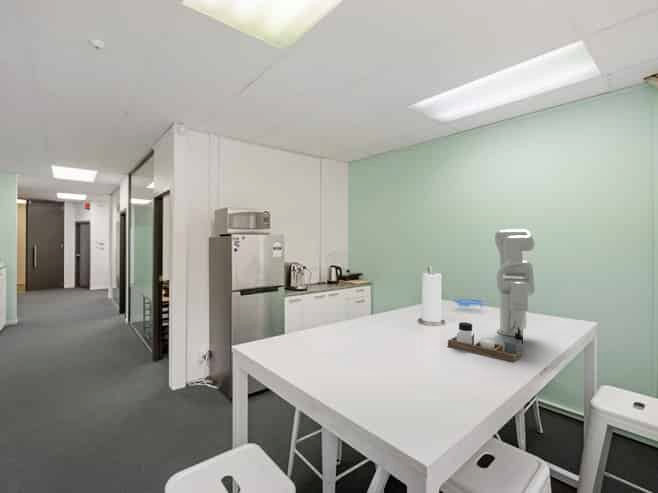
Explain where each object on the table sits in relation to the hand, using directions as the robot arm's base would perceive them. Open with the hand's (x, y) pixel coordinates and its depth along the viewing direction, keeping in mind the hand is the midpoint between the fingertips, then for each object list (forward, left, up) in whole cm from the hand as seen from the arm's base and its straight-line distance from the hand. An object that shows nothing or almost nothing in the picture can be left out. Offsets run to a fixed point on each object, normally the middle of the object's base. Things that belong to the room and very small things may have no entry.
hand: (518, 343), depth 156 cm
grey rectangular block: (+9, 0, -2) cm, 9 cm away
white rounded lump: (+18, -9, -2) cm, 20 cm away
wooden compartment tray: (+18, -11, -2) cm, 21 cm away
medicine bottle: (+18, -19, -2) cm, 26 cm away
